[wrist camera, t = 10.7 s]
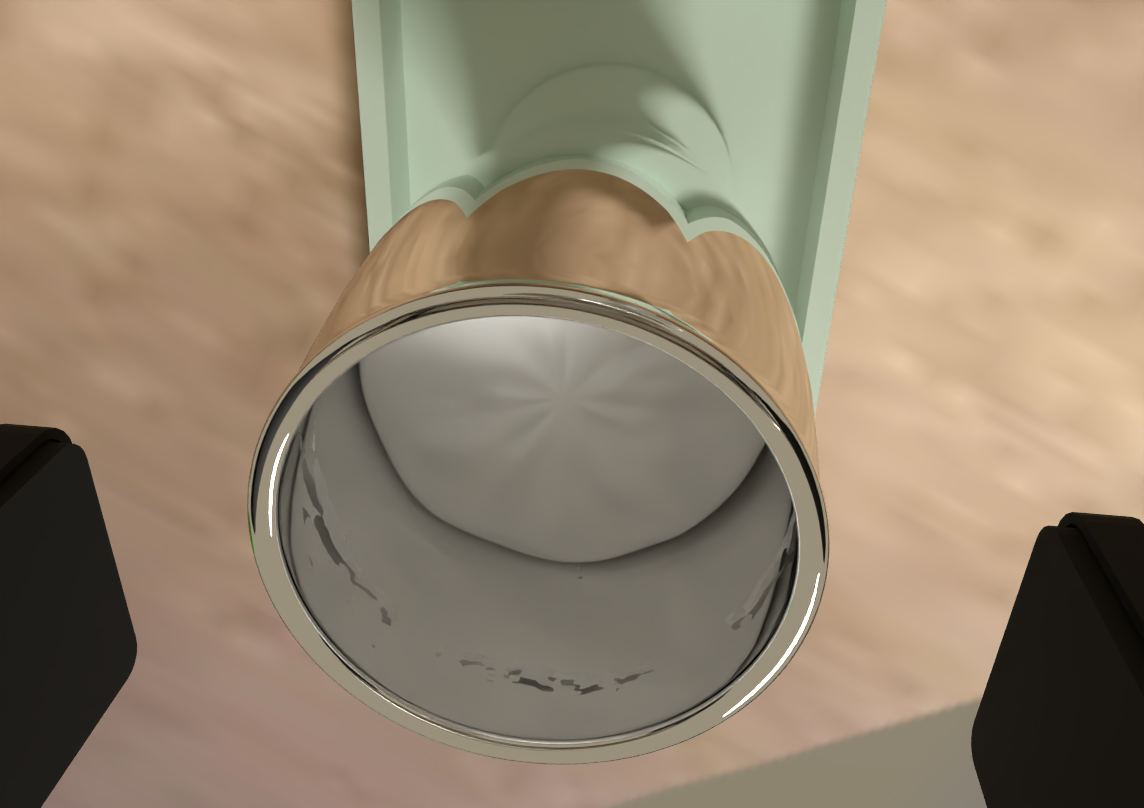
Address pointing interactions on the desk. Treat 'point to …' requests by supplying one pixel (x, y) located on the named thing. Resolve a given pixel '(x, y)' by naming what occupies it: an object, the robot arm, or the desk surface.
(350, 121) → the desk surface
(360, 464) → the beer glass
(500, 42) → the tray
